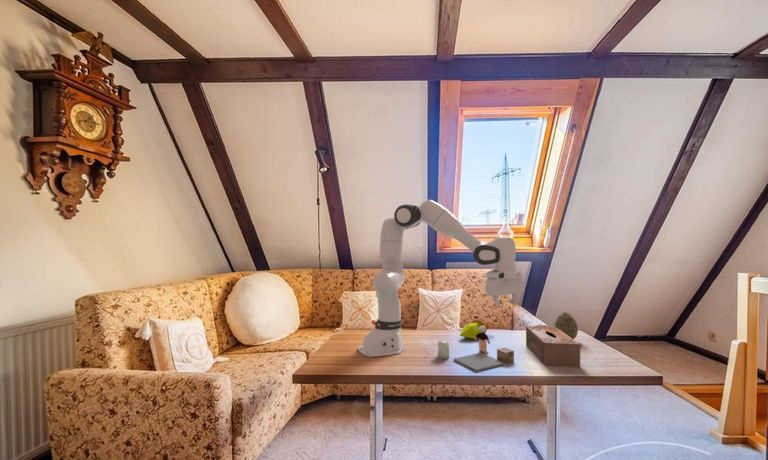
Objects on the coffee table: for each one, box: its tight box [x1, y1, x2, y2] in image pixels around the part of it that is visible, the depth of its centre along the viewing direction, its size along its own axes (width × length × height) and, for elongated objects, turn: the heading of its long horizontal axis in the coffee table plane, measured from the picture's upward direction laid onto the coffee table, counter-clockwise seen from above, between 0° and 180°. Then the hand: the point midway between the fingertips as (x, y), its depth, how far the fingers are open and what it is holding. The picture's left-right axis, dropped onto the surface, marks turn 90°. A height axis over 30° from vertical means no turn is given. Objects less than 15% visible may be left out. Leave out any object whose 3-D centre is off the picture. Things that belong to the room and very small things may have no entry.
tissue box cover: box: [525, 326, 581, 368], centre depth 159 cm, size 26×14×10 cm, turn 174°
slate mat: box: [453, 352, 505, 373], centre depth 150 cm, size 16×14×1 cm
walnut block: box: [496, 347, 515, 365], centre depth 152 cm, size 5×5×5 cm
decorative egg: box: [553, 311, 579, 340], centre depth 180 cm, size 11×11×15 cm
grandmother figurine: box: [474, 326, 491, 355], centre depth 163 cm, size 8×4×13 cm, turn 56°
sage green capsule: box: [437, 339, 450, 360], centre depth 157 cm, size 5×5×7 cm
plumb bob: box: [459, 319, 495, 340], centre depth 187 cm, size 9×9×25 cm
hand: (505, 304), depth 152 cm, fingers open, 8 cm apart
